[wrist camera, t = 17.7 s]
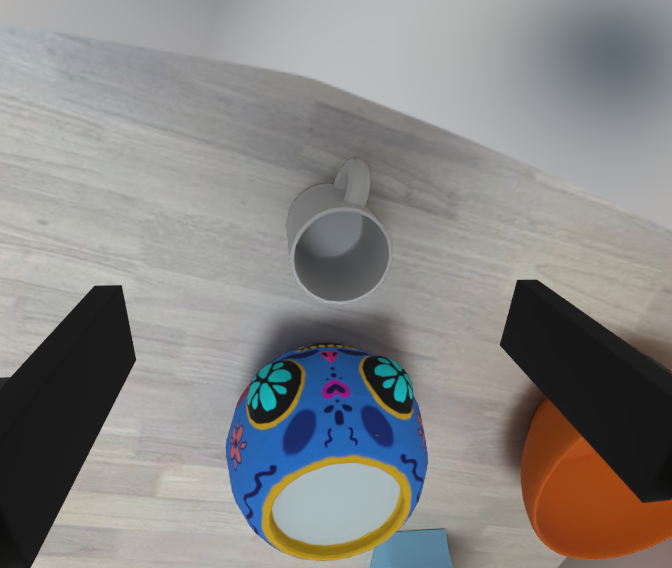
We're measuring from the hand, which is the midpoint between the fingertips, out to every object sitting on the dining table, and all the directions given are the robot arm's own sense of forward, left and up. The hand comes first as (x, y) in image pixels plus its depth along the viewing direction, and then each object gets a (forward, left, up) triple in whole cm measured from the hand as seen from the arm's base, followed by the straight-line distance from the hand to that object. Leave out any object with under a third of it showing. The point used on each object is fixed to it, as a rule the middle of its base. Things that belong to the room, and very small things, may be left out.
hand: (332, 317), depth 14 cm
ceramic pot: (+21, +3, -23) cm, 31 cm away
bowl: (+28, +37, -23) cm, 52 cm away
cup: (+2, +3, -23) cm, 23 cm away
